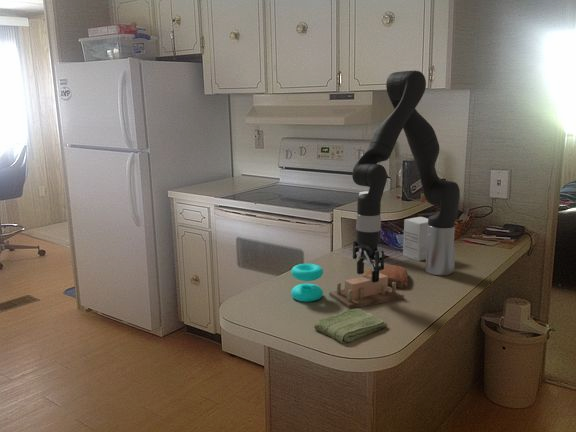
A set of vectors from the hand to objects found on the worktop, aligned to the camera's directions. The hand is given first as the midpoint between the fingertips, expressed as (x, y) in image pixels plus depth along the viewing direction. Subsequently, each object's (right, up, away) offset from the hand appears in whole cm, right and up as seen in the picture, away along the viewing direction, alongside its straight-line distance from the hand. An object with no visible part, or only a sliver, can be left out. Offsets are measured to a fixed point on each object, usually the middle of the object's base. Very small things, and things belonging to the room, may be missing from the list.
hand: (367, 277), depth 171 cm
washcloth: (-8, -12, -21) cm, 25 cm away
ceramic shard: (+9, -3, +17) cm, 19 cm away
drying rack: (0, -6, +1) cm, 6 cm away
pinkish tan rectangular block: (0, -5, +1) cm, 5 cm away
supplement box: (+26, +3, +43) cm, 51 cm away
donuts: (-19, -7, +2) cm, 20 cm away
